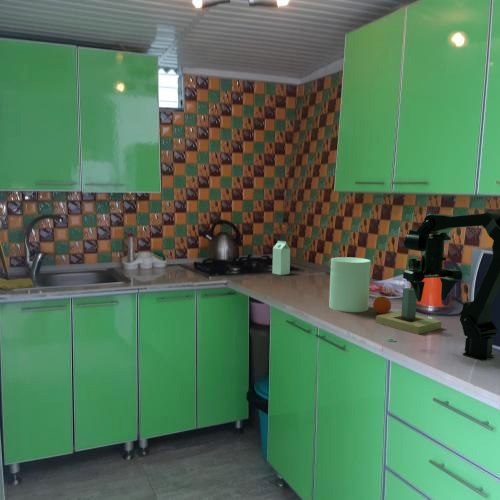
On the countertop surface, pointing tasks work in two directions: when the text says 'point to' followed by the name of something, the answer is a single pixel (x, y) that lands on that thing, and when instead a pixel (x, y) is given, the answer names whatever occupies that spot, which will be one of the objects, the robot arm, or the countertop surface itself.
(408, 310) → the bracket
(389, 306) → the clementine
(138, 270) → the countertop surface
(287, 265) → the milk carton
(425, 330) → the olive square-hole block
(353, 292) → the canister
